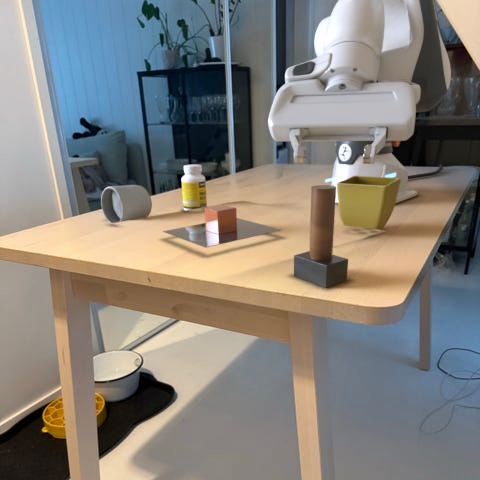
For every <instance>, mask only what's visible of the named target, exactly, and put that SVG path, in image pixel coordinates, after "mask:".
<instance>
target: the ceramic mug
mask: <svg viewBox="0 0 480 480" xmlns="http://www.w3.org/2000/svg"><path fill="white" fill-rule="evenodd" d="M152 203H153V202H152V197H151V195H150V193H149V191H148V190H147V189H146V188H145V187H144V186H142V185H140V184H139V185H138V184H127V185H109V186H107V187H105V188H104V189H103V191H102V193H101V196H100V205H101V206H100V207H101V211H102V213H103V216H104V218H105V219H106V221H107V222H108V223H109V224H116V223H121V222H126V221H128V222H129V221H134V220H139V219H145V218H147V217H149V216H150V214H151V213H152V207H153V204H152Z"/></svg>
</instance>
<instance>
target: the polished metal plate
mask: <svg viewBox="0 0 480 480" xmlns="http://www.w3.org/2000/svg"><path fill="white" fill-rule="evenodd" d="M280 231H282V229H280V228H276V227H272V226H270V225H266V224H261V223H259V222H258V223H257V222H254V221H249V220H247V219H243V218H239V217H237V231H232V232H228V233H223V234H216V233H213V232H209V231H206V223H205V222H203V223H198V224H193V225H188V226H187V225H186V226H183V227H178V228H173V229H167V230H163V231H162V233H165V234H168V235H170V236H172V237H175V238H179V239H181V240H183V241H186V242H188V243H191V244H194V245H197V246H199V247H202V248H204V249H206V248H210V247H215V246H219V245H222V244H223V245H224V244H227V243H232V242H235V241H241V240H244V239H249V238H254V237H257V236H261V235H266V234H270V233H274V232H280Z"/></svg>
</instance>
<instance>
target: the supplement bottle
mask: <svg viewBox="0 0 480 480" xmlns="http://www.w3.org/2000/svg"><path fill="white" fill-rule="evenodd" d="M202 172H203V166H202V164H197V163H196V164H195V163H194V164H185V165H183V173H184V175H182V177H181V180H180V181H181V195H182V208H183V210H184V211H190V210H196V209H202V208H207V207H208V201H207V182H206V181H207V180H206V177H205V175H204V174H202Z"/></svg>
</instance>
